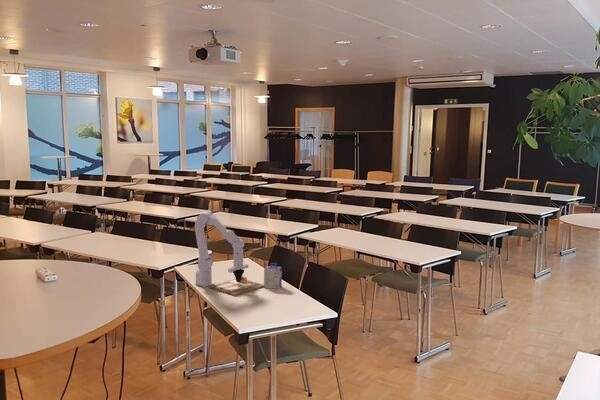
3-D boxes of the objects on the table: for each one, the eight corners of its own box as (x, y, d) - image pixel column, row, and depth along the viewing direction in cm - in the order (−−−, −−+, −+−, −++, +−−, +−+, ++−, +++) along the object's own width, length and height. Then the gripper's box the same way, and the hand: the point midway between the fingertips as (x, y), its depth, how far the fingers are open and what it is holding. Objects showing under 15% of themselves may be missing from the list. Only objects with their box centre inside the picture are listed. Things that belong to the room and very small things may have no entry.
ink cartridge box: (282, 286, 298) (282, 262, 297) (279, 289, 293) (280, 265, 291) (266, 285, 300) (266, 261, 298) (263, 287, 295) (263, 264, 293)
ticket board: (209, 288, 292) (209, 284, 292) (238, 279, 311) (238, 275, 310) (235, 296, 278) (235, 292, 278) (264, 286, 297) (264, 282, 297)
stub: (228, 283, 298) (228, 276, 298) (235, 281, 303) (235, 274, 302) (244, 288, 289) (244, 280, 289) (251, 286, 294) (251, 278, 293)
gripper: (234, 263, 285) (234, 285, 287) (251, 258, 296) (251, 280, 298) (225, 260, 289) (225, 283, 291) (243, 256, 300) (243, 278, 302)
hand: (238, 281), depth 295 cm, fingers closed
